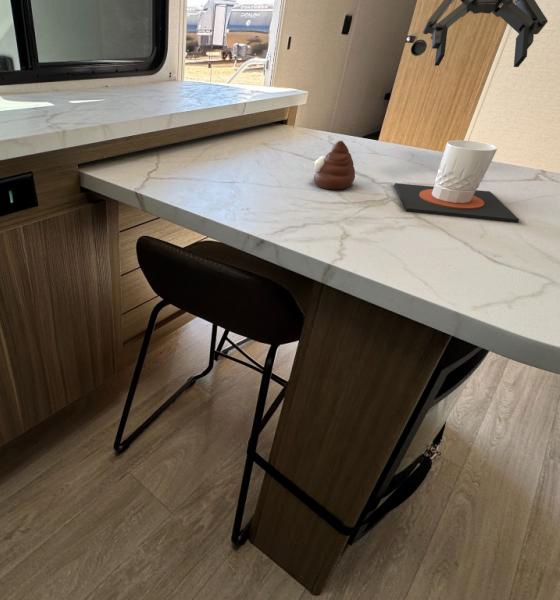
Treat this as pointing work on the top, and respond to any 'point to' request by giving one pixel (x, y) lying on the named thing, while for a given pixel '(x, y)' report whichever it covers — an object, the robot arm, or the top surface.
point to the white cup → (462, 170)
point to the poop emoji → (335, 168)
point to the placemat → (453, 204)
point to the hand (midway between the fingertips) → (478, 61)
